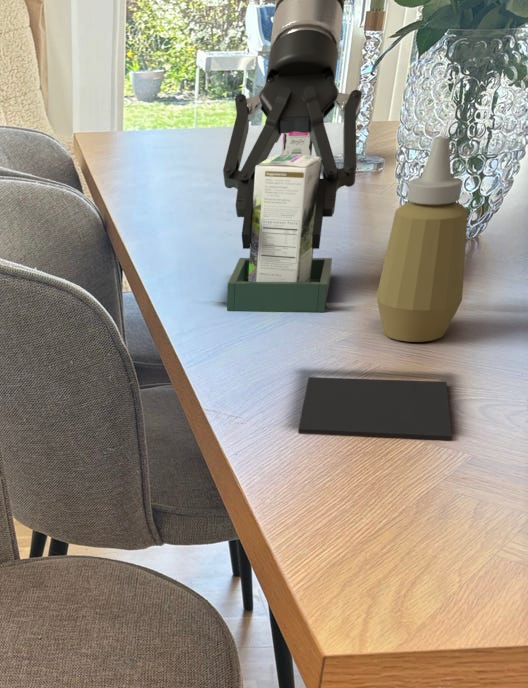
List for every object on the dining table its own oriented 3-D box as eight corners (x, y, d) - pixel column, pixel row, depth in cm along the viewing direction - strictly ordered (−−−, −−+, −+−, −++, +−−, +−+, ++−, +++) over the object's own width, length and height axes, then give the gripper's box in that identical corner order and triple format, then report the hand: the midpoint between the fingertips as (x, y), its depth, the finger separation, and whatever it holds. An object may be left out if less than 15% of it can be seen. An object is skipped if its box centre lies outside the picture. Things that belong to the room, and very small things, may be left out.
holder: (329, 284, 116) (332, 258, 114) (324, 312, 108) (327, 284, 106) (238, 283, 119) (239, 257, 117) (226, 310, 111) (227, 283, 109)
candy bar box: (311, 176, 167) (320, 64, 157) (281, 177, 168) (288, 66, 158) (309, 163, 176) (317, 57, 166) (280, 165, 177) (287, 59, 167)
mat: (445, 385, 89) (446, 381, 88) (451, 440, 79) (452, 436, 79) (308, 381, 92) (308, 376, 92) (298, 433, 82) (298, 428, 82)
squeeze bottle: (355, 337, 101) (377, 141, 90) (399, 317, 105) (425, 128, 94) (428, 353, 95) (460, 148, 85) (471, 331, 100) (506, 133, 89)
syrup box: (262, 288, 117) (269, 153, 108) (311, 291, 114) (323, 153, 106) (246, 302, 113) (252, 163, 104) (297, 306, 110) (307, 164, 102)
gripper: (393, 71, 111) (373, 261, 108) (217, 79, 116) (193, 260, 113) (400, 20, 104) (378, 221, 100) (212, 30, 109) (186, 222, 106)
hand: (280, 241), depth 107 cm, fingers closed on syrup box, 7 cm apart
